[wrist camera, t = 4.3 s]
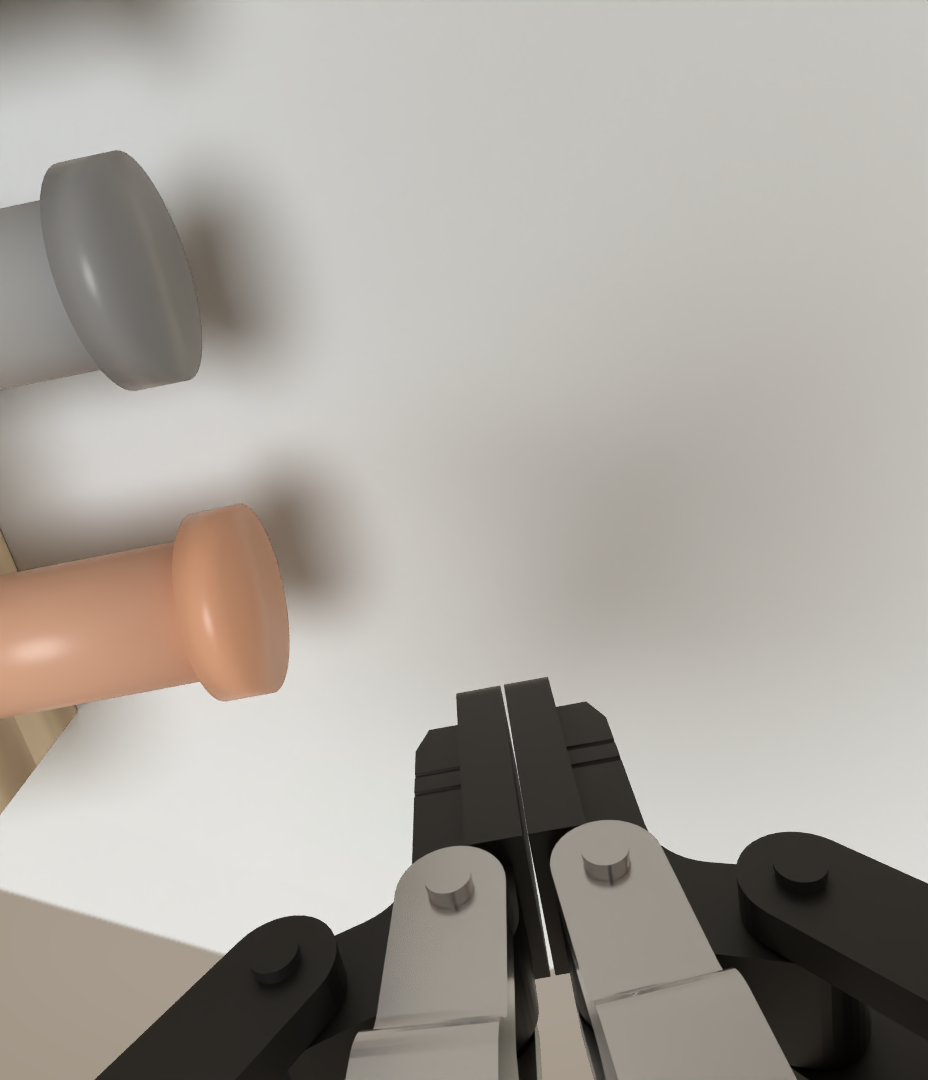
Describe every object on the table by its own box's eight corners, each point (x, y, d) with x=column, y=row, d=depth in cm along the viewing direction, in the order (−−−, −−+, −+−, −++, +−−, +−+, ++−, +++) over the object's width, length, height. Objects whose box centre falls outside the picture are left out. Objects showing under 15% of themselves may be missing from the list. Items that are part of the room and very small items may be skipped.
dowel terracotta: (252, 480, 22) (205, 544, 18) (299, 636, 24) (266, 731, 19) (-133, 556, 22) (-275, 637, 18) (-60, 704, 24) (-174, 812, 20)
